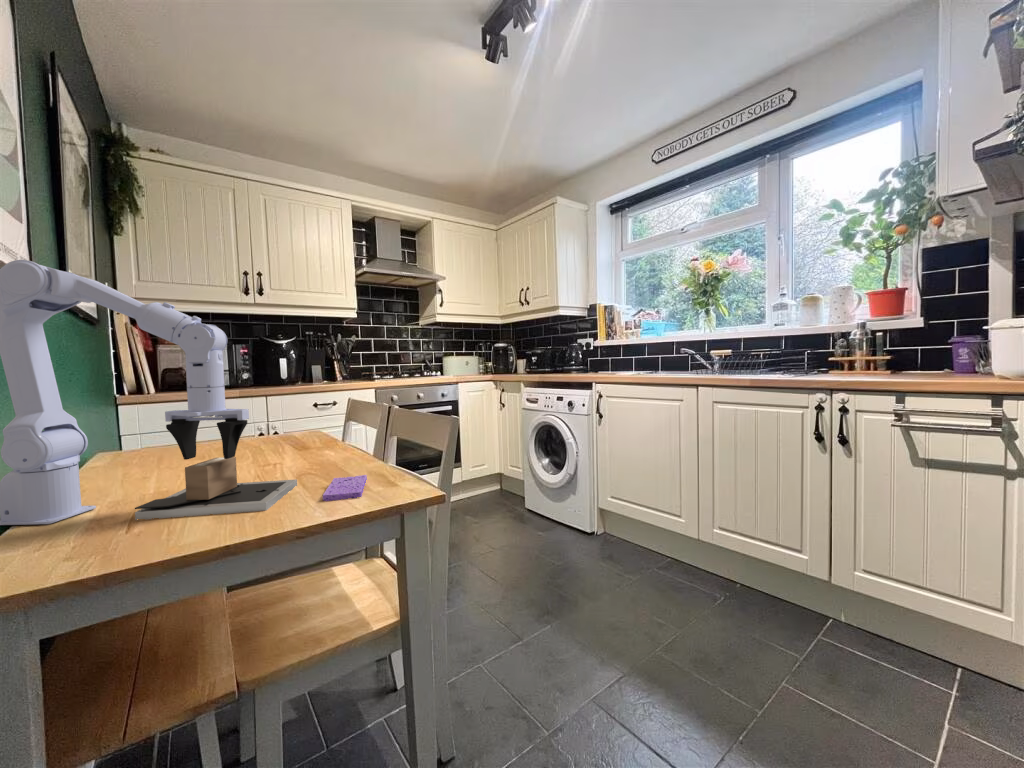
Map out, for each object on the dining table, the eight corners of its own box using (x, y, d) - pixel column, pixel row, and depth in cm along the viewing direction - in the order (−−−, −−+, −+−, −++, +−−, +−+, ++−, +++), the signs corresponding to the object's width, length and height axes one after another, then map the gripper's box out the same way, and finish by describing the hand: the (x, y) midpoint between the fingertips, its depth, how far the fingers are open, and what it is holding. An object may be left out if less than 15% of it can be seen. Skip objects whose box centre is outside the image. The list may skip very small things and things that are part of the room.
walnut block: (217, 487, 82) (215, 456, 82) (237, 486, 82) (235, 456, 82) (186, 500, 74) (184, 466, 74) (208, 499, 74) (207, 466, 74)
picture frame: (135, 524, 70) (266, 514, 73) (134, 507, 70) (265, 498, 73) (191, 495, 85) (297, 488, 89) (190, 482, 85) (296, 476, 89)
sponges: (367, 482, 91) (367, 474, 91) (361, 500, 79) (361, 490, 79) (333, 485, 90) (333, 477, 90) (322, 504, 78) (322, 494, 77)
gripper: (149, 389, 73) (153, 463, 74) (229, 387, 73) (233, 462, 74) (180, 387, 80) (184, 455, 81) (254, 385, 80) (257, 453, 81)
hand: (209, 458), depth 78 cm, fingers open, 7 cm apart
